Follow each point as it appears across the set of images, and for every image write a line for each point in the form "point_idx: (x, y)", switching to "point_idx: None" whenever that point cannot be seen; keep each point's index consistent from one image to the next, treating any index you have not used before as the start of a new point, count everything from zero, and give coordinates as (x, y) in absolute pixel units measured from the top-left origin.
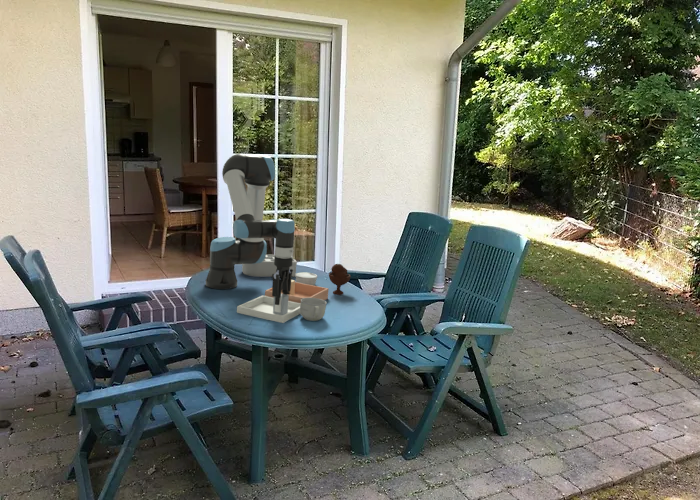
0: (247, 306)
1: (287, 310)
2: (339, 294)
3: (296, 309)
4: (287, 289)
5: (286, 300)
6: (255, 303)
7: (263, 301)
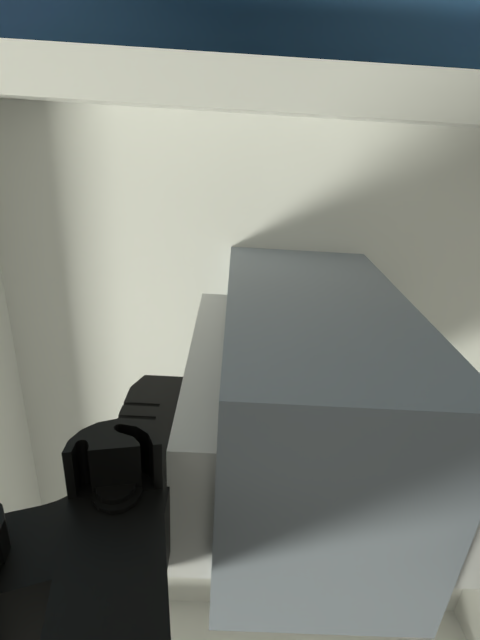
0: (343, 635)
1: (239, 258)
2: None
3: (273, 64)
4: (119, 619)
5: (318, 340)
6: (197, 623)
7: None
